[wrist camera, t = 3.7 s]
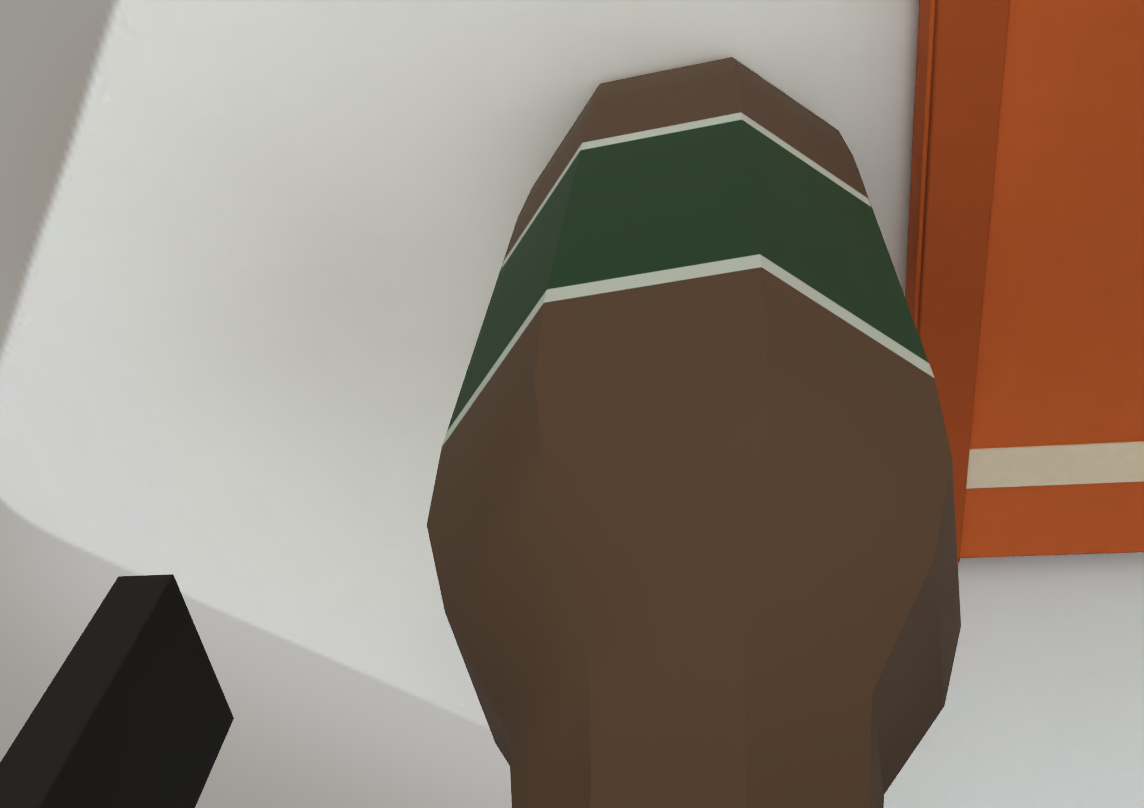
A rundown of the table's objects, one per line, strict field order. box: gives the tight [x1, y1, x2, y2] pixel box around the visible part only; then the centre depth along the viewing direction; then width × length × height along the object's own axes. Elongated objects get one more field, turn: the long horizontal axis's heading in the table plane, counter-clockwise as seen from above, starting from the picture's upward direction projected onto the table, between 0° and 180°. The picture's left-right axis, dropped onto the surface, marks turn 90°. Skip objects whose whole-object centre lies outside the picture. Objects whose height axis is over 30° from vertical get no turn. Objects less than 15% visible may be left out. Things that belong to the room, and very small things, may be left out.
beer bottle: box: [427, 57, 961, 808], centre depth 16 cm, size 8×8×24 cm
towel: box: [905, 0, 1144, 563], centre depth 24 cm, size 20×8×1 cm, turn 7°
